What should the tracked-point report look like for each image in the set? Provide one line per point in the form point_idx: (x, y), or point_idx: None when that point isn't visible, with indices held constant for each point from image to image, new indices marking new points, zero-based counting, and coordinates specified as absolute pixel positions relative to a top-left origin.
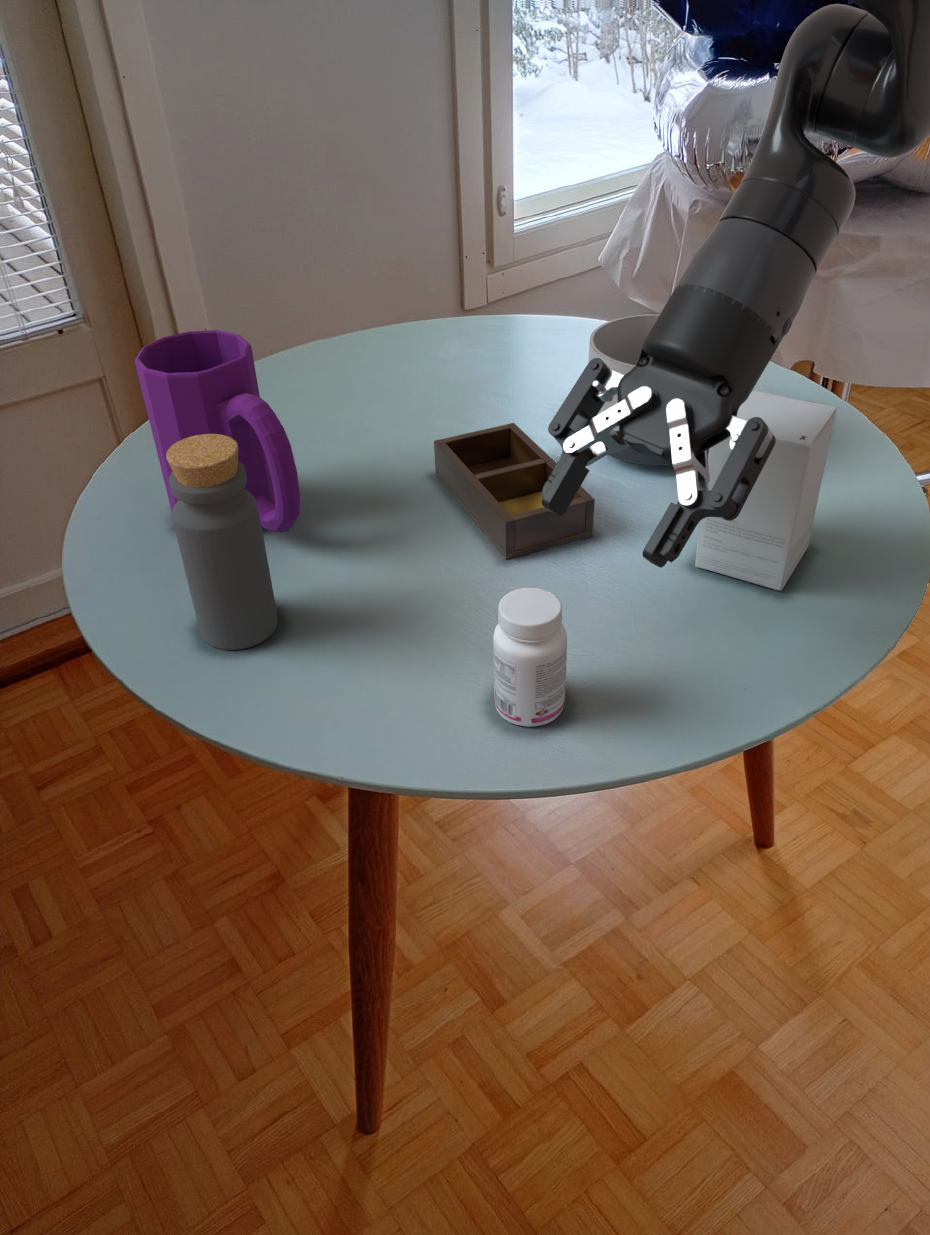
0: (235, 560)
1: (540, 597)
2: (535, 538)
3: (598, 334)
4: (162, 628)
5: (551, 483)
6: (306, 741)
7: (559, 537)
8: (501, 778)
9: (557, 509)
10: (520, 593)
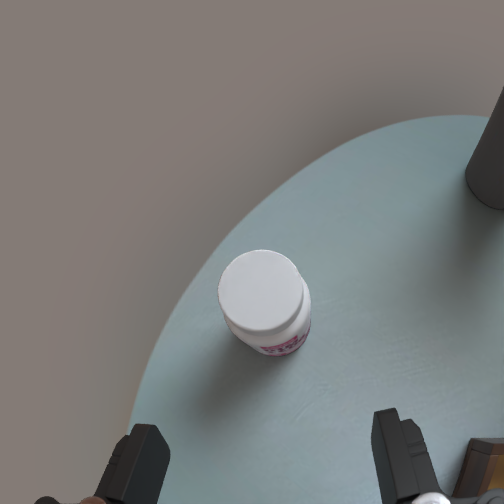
0: (496, 120)
1: (262, 310)
2: (467, 474)
3: None
4: None
5: (403, 435)
6: (350, 162)
7: None
8: (225, 251)
9: (373, 432)
10: (289, 295)
